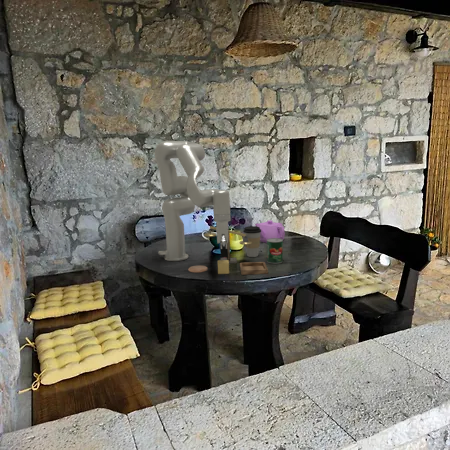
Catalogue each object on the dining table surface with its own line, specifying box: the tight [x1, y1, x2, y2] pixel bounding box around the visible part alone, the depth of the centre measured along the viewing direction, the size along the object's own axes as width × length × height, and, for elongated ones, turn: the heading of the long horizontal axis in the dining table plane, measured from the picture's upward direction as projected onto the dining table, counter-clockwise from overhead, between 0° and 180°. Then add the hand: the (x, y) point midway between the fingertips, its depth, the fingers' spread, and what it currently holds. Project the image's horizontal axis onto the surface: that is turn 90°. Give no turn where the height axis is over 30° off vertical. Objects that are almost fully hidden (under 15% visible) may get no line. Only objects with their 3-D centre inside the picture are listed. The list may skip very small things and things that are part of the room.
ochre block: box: [217, 259, 230, 275], centre depth 187 cm, size 5×5×5 cm
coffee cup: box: [242, 225, 261, 258], centre depth 212 cm, size 9×9×15 cm
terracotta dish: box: [188, 265, 208, 273], centre depth 192 cm, size 9×9×1 cm
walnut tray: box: [239, 261, 269, 276], centre depth 188 cm, size 12×12×2 cm
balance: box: [203, 225, 252, 265], centre depth 201 cm, size 23×6×18 cm, turn 92°
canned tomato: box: [266, 238, 284, 265], centre depth 200 cm, size 8×8×11 cm
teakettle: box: [254, 219, 286, 244], centre depth 244 cm, size 17×17×12 cm
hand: (224, 254), depth 185 cm, fingers open, 9 cm apart
